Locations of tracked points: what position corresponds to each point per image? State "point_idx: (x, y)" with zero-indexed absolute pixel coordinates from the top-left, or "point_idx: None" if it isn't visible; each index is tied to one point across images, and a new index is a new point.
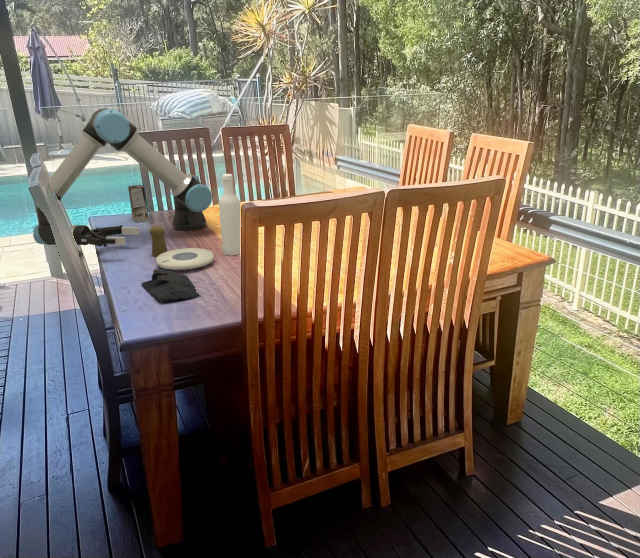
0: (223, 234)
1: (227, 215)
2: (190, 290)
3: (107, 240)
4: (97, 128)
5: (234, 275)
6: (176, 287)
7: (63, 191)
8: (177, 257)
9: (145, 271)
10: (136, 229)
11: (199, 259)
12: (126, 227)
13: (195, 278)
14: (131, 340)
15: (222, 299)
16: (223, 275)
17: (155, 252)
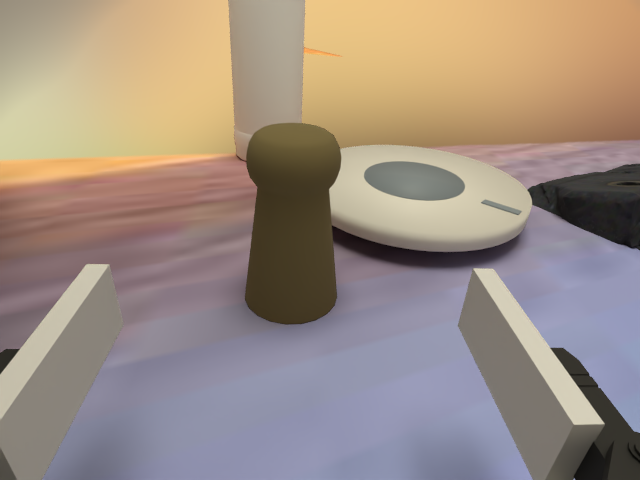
0: (294, 89)
1: (304, 9)
2: (632, 167)
3: (616, 417)
4: None
5: (455, 146)
6: None
7: None
8: (438, 188)
9: (555, 287)
10: (107, 287)
11: (431, 158)
12: (10, 368)
13: None
14: None
15: (599, 150)
16: (465, 156)
17: (334, 278)
